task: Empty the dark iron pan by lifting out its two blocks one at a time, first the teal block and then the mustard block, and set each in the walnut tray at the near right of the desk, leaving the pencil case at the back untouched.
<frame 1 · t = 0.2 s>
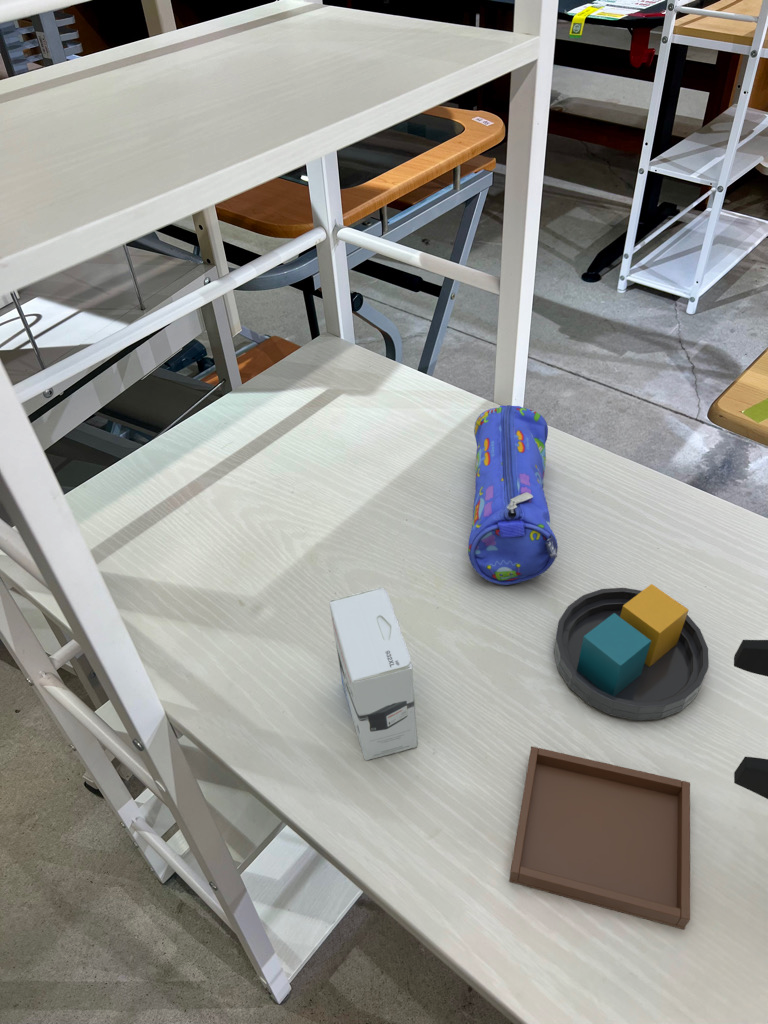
hand: (738, 708, 43), 19 cm above the table, tool horizontal, fingers open, 7 cm apart
tray: (600, 836, 57), on the table
pan: (626, 659, 68), on the table
ink box: (378, 714, 66), on the table
teal block: (608, 672, 67), resting on pan
pencil case: (508, 520, 83), on the table
mustard block: (645, 642, 69), resting on pan
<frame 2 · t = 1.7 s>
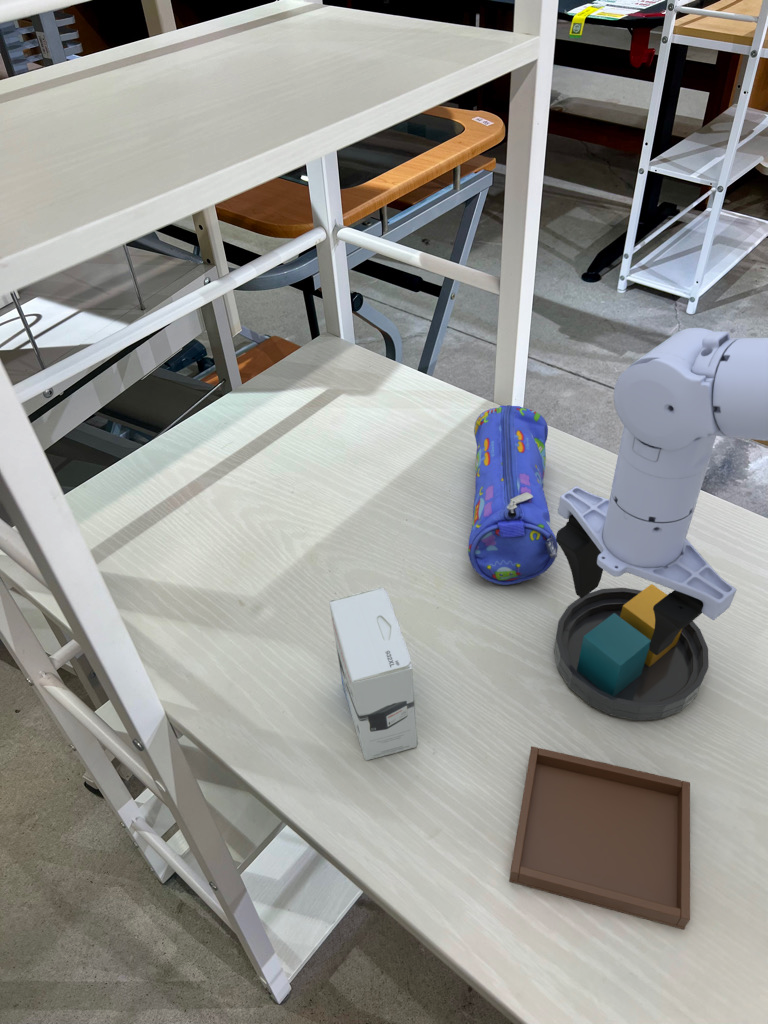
hand: (622, 617, 62), 8 cm above the table, tool pointing down, fingers open, 7 cm apart
nothing on the table moved.
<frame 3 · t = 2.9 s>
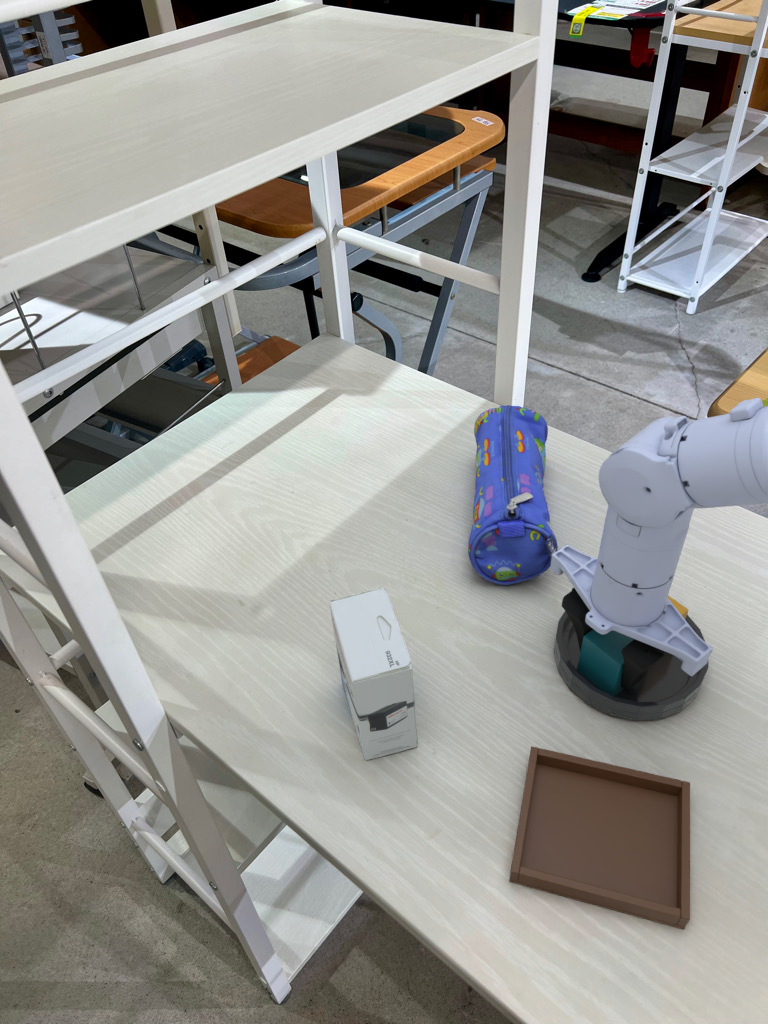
hand: (610, 665, 66), 1 cm above the table, tool pointing down, fingers closed on teal block, 4 cm apart
teal block: (608, 672, 67), resting on pan, touching gripper
everything else where it was.
when the fingers open (1 cm above the table, at t = 7.7 s): teal block stays where it is, resting on tray.
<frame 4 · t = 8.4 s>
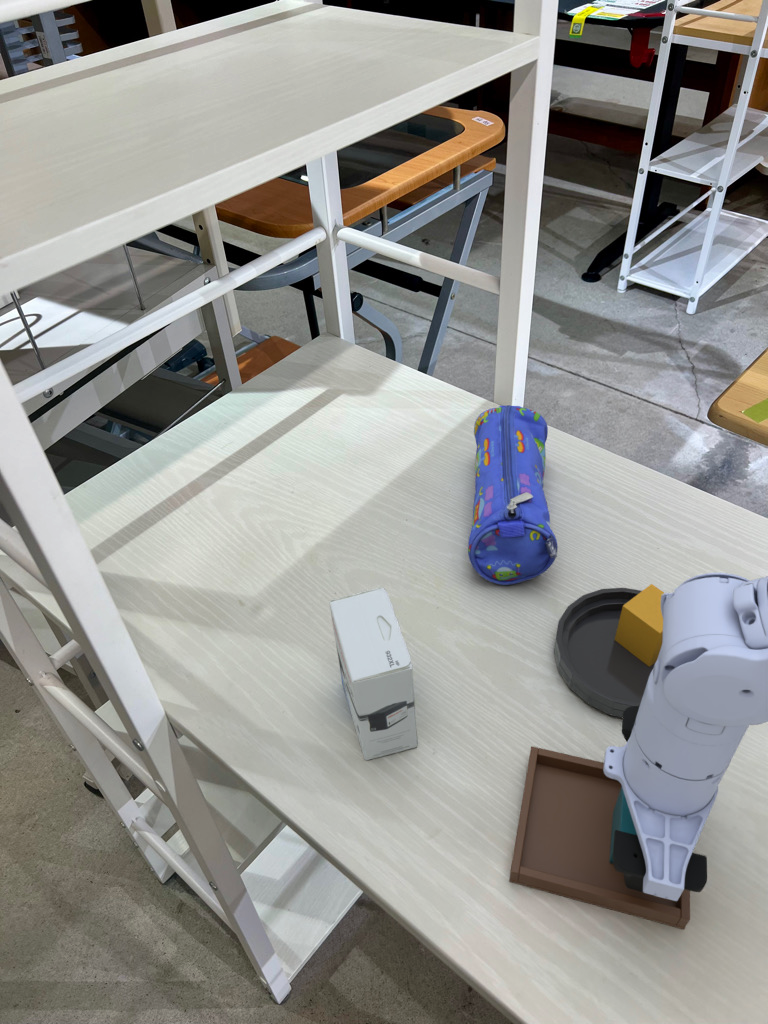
hand: (643, 833, 55), 2 cm above the table, tool pointing down, fingers open, 7 cm apart
teal block: (638, 843, 56), resting on tray
everything else where it was.
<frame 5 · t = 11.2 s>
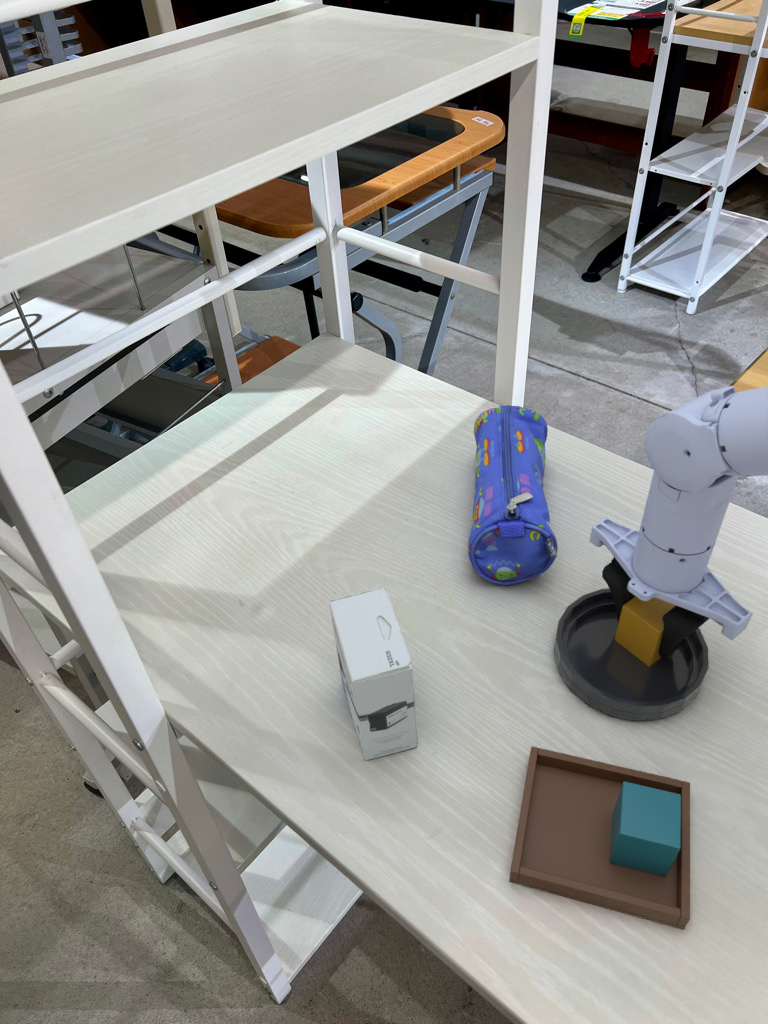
hand: (647, 634, 68), 1 cm above the table, tool pointing down, fingers closed on mustard block, 4 cm apart
mustard block: (645, 642, 69), resting on pan, touching gripper
everything else where it was.
when the fingers open (1 cm above the table, at t = 16.2 s): mustard block stays where it is, resting on tray.
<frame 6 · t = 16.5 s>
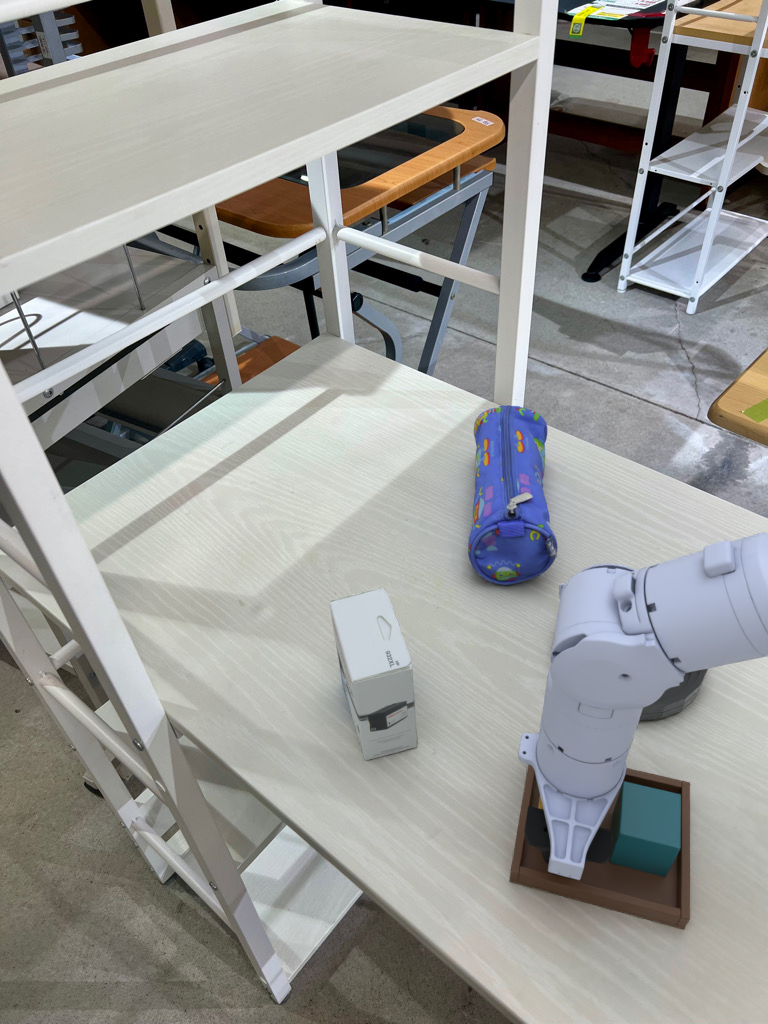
hand: (564, 818, 56), 1 cm above the table, tool pointing down, fingers open, 6 cm apart
mustard block: (562, 824, 57), resting on tray
everything else where it was.
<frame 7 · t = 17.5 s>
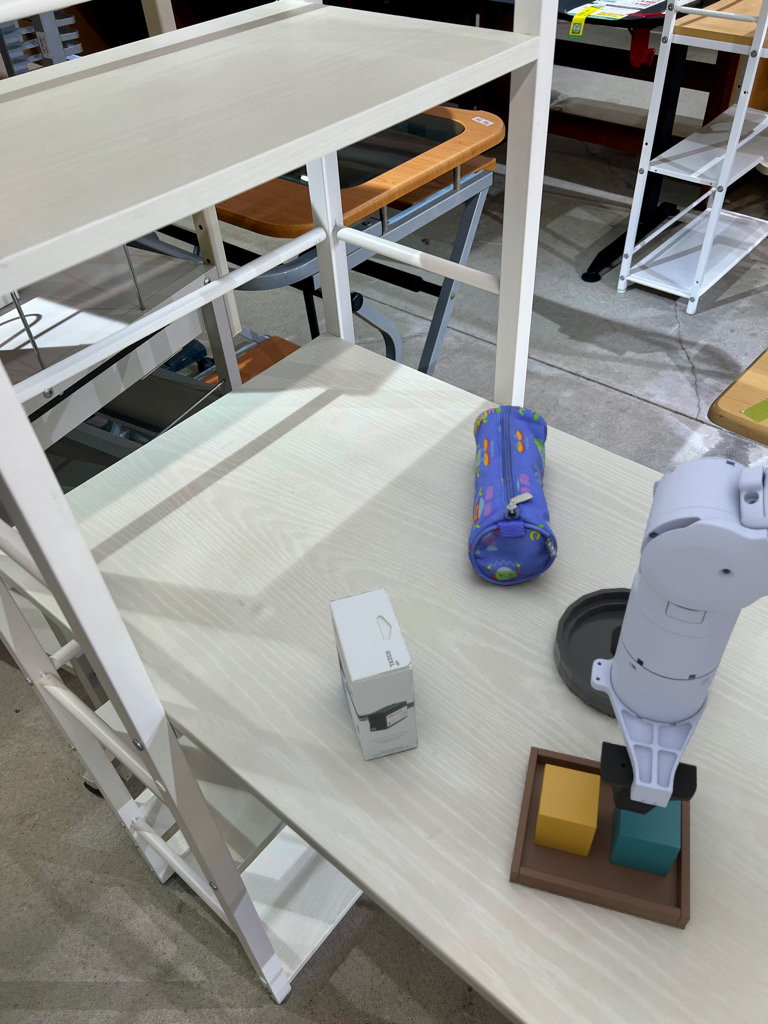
hand: (633, 756, 53), 8 cm above the table, tool pointing down, fingers open, 7 cm apart
nothing on the table moved.
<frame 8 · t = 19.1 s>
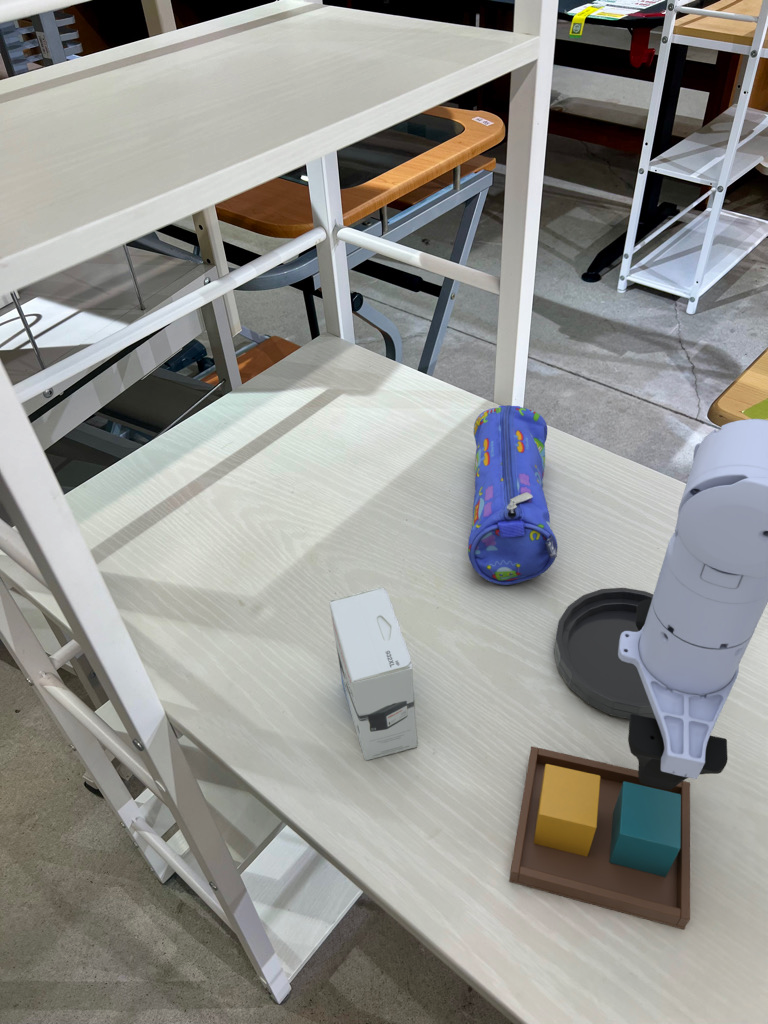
hand: (657, 732, 53), 9 cm above the table, tool pointing down, fingers open, 7 cm apart
nothing on the table moved.
at the end: teal block inside the target area in the tray (2.8 cm from its centre), point 0.4 cm above the tray's base; mustard block inside the target area in the tray (2.8 cm from its centre), point 0.4 cm above the tray's base; pencil case moved 0.2 cm from its start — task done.
